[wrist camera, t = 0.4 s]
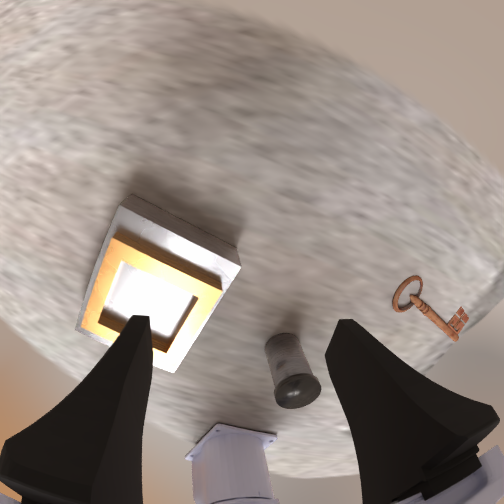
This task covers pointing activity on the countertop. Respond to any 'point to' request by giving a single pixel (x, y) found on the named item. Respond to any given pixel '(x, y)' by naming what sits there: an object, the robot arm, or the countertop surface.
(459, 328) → the key
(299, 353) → the peg
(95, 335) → the chuck block
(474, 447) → the robot arm
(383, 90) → the countertop surface
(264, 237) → the countertop surface
